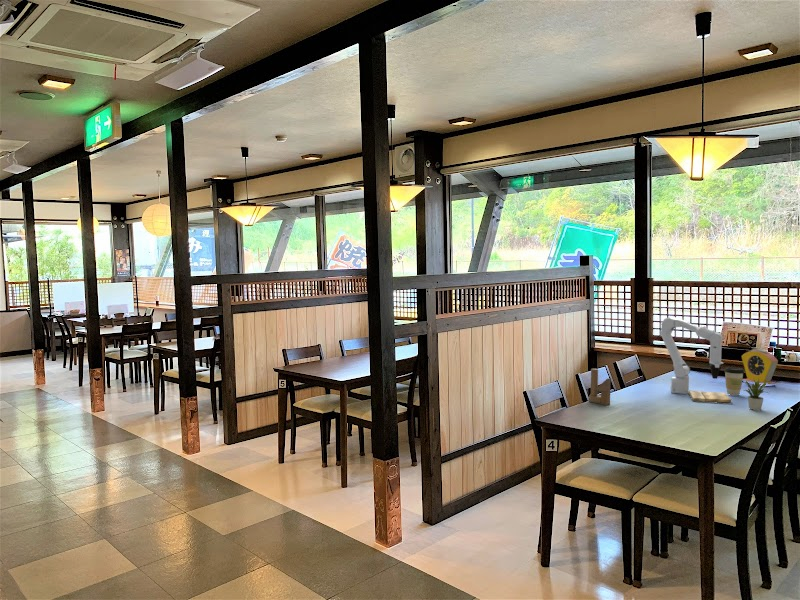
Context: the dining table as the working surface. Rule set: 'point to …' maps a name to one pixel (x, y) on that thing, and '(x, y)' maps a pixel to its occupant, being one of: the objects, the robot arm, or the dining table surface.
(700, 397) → the floor panel
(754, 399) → the house plant
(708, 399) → the oak plank
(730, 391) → the coffee cup
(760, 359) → the yellow mantel clock
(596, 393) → the wooden block
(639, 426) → the dining table surface
